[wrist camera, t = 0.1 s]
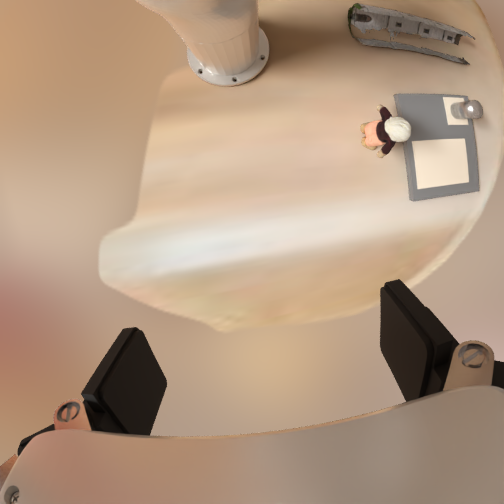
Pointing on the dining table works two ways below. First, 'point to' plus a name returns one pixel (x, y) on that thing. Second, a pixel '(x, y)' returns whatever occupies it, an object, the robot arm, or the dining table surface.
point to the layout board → (437, 147)
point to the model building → (403, 28)
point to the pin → (466, 110)
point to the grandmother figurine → (385, 132)
